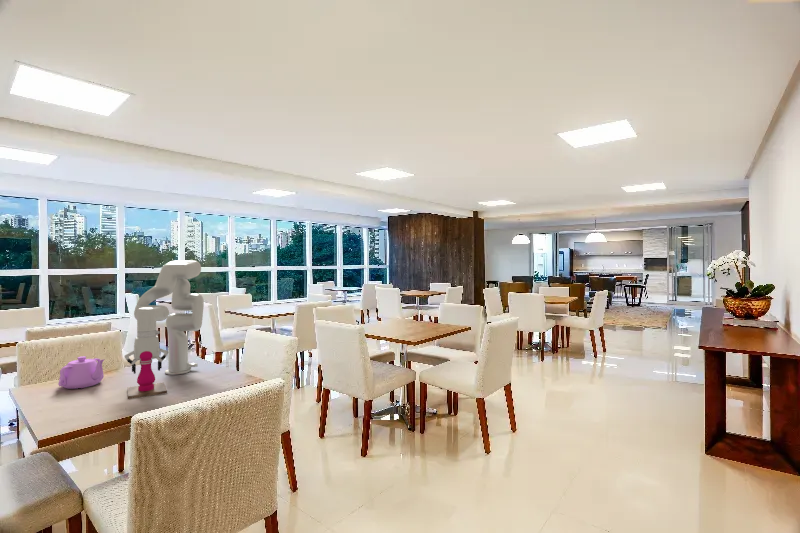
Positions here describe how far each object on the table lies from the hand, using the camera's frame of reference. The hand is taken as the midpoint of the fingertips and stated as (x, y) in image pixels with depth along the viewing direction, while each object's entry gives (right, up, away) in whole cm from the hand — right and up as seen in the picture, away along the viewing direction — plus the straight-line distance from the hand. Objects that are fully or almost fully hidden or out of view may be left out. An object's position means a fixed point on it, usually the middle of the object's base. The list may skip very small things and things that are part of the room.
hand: (146, 371), depth 196 cm
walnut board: (0, -9, 0) cm, 9 cm away
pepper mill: (0, -8, -1) cm, 8 cm away
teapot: (-34, -9, +9) cm, 37 cm away
